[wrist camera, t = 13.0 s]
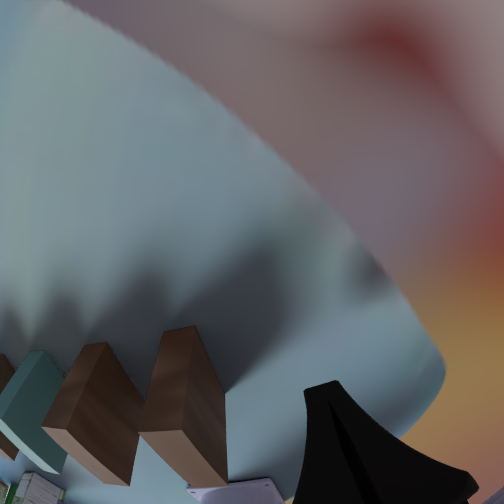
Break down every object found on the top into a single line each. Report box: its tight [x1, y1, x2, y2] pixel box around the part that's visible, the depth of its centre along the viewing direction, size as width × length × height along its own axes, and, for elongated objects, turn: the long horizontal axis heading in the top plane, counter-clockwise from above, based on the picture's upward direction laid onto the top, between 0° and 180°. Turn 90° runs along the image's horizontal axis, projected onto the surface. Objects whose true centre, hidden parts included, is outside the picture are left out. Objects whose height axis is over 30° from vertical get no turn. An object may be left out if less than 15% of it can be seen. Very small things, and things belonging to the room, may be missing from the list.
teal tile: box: [0, 350, 68, 475], centre depth 11 cm, size 2×5×6 cm, turn 14°
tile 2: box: [41, 342, 145, 486], centre depth 11 cm, size 2×5×6 cm, turn 13°
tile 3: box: [0, 354, 19, 461], centre depth 11 cm, size 2×5×6 cm, turn 13°
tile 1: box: [138, 326, 228, 488], centre depth 11 cm, size 2×5×6 cm, turn 13°
